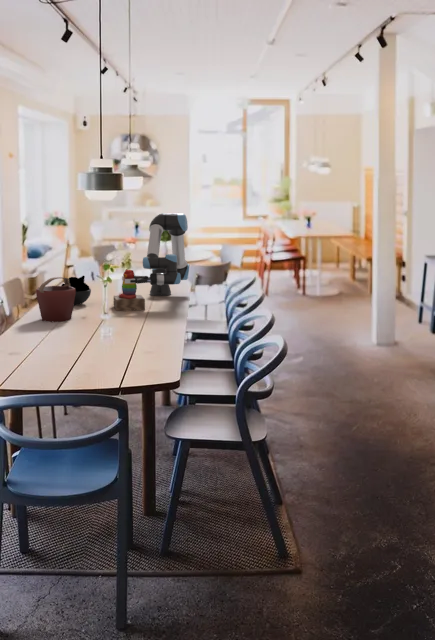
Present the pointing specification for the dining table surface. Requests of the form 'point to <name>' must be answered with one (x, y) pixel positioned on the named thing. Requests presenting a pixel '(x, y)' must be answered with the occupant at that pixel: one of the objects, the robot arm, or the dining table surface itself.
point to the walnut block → (129, 303)
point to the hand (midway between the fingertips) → (123, 279)
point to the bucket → (56, 301)
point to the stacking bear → (128, 286)
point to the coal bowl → (79, 289)
